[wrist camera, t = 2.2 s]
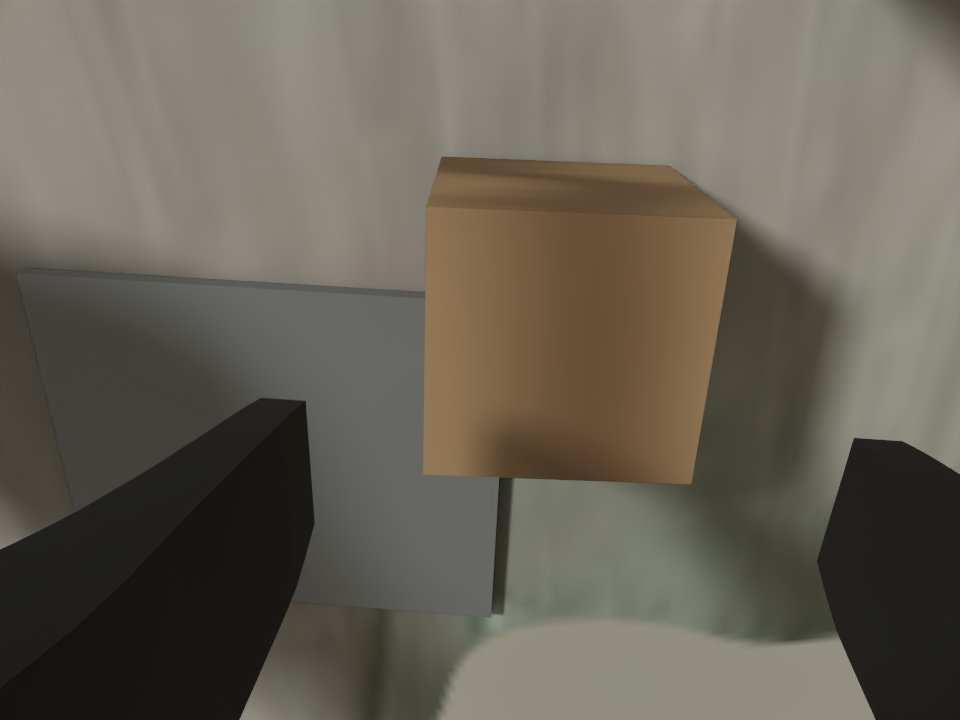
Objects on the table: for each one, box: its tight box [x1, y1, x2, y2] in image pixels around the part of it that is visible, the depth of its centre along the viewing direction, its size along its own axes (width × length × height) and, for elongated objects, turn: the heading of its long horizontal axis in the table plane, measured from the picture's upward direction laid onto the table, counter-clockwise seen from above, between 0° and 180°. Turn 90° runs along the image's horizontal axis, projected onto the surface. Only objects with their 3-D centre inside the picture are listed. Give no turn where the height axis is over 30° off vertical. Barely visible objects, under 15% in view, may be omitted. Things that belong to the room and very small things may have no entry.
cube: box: [423, 157, 737, 484], centre depth 16 cm, size 5×5×5 cm
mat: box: [16, 268, 499, 618], centre depth 21 cm, size 12×10×1 cm
